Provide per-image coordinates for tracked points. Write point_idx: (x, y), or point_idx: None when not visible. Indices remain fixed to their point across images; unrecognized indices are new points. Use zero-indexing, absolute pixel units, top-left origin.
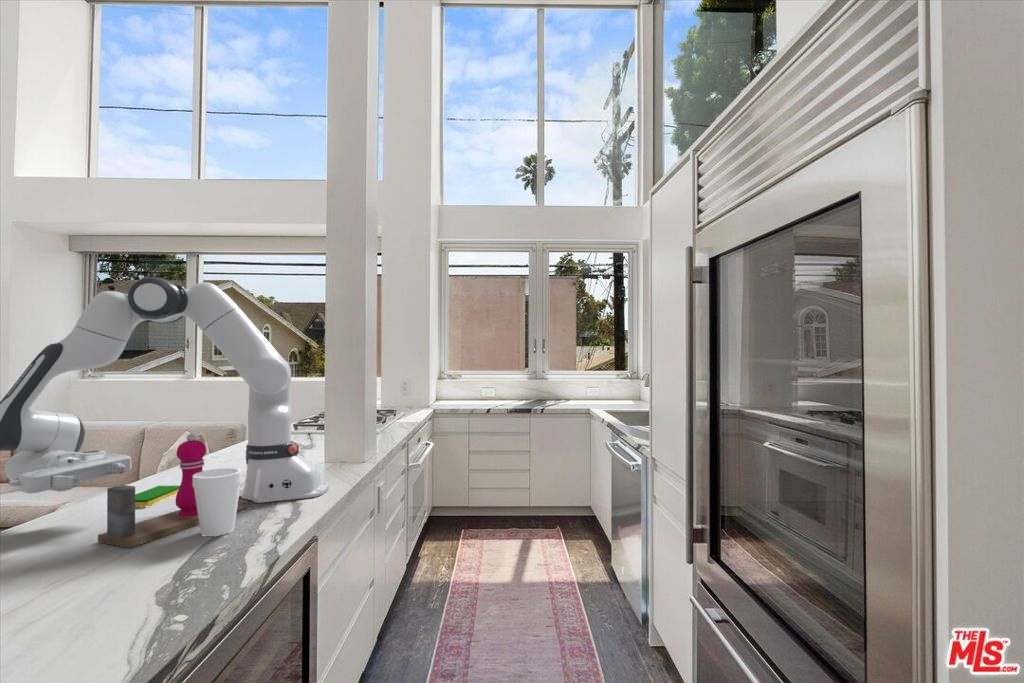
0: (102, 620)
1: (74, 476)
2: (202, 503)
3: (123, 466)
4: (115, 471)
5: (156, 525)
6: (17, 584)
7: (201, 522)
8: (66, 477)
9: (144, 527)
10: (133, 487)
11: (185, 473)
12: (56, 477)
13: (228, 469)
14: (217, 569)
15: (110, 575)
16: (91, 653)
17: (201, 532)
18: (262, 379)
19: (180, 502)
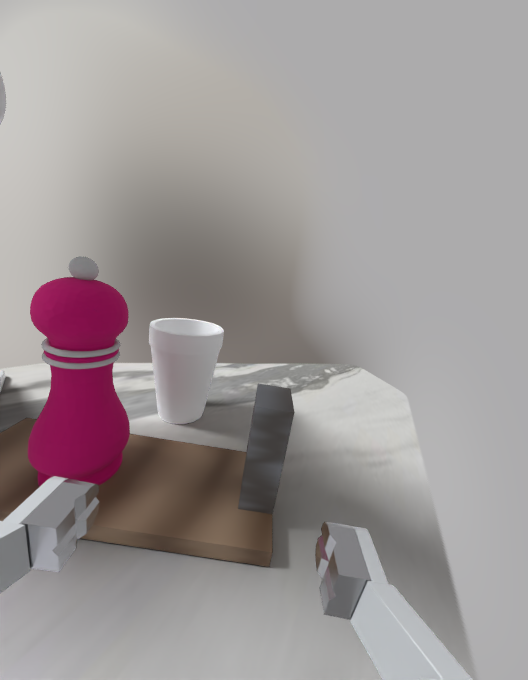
0: (359, 392)
1: (347, 526)
2: (214, 367)
3: (67, 478)
4: (69, 542)
5: (189, 473)
6: (423, 503)
7: (205, 398)
8: (385, 581)
9: (204, 485)
10: (261, 385)
11: (109, 372)
12: (461, 673)
13: (155, 324)
14: (274, 378)
15: (329, 428)
16: (371, 381)
17: (201, 413)
18: (3, 99)
19: (125, 438)
